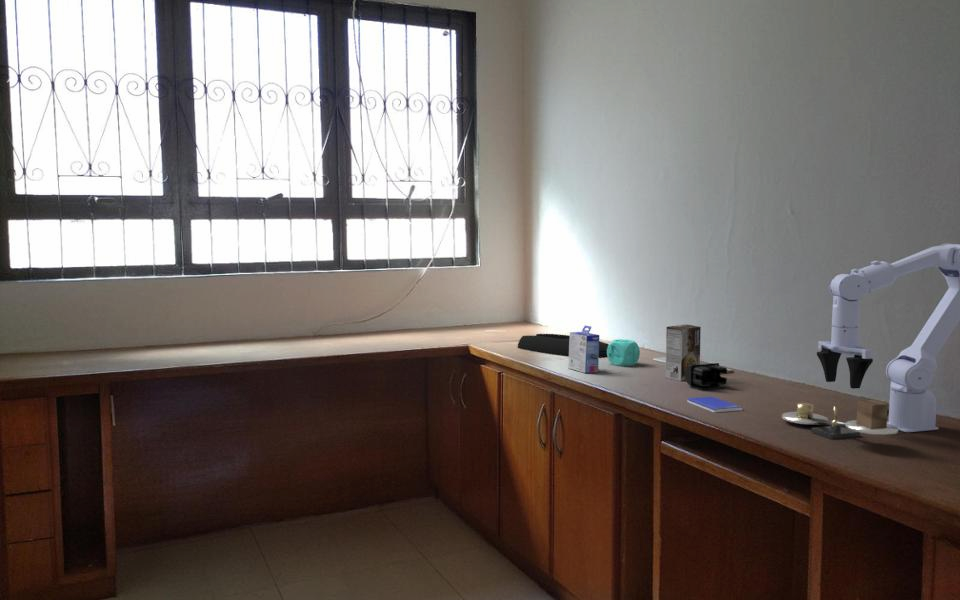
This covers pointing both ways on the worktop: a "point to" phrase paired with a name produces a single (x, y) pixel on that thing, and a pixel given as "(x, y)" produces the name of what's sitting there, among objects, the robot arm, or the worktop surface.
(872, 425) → the walnut block
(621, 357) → the decorative dice
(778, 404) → the worktop surface
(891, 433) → the balance
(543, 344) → the docking station
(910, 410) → the robot arm
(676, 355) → the coffee box
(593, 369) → the ink cartridge box
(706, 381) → the black electrical connector
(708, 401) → the hard drive
